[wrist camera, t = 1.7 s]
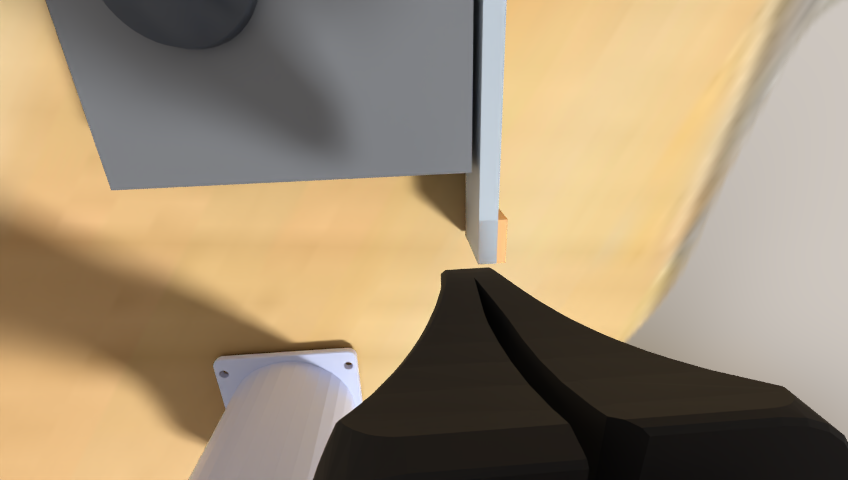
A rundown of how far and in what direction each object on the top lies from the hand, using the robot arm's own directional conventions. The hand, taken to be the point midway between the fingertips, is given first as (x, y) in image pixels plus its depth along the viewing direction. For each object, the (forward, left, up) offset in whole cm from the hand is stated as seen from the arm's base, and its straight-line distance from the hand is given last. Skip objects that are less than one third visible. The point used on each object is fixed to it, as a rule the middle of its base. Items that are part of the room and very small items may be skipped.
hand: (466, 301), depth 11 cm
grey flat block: (+8, +6, -10) cm, 14 cm away
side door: (+5, -2, -9) cm, 11 cm away
